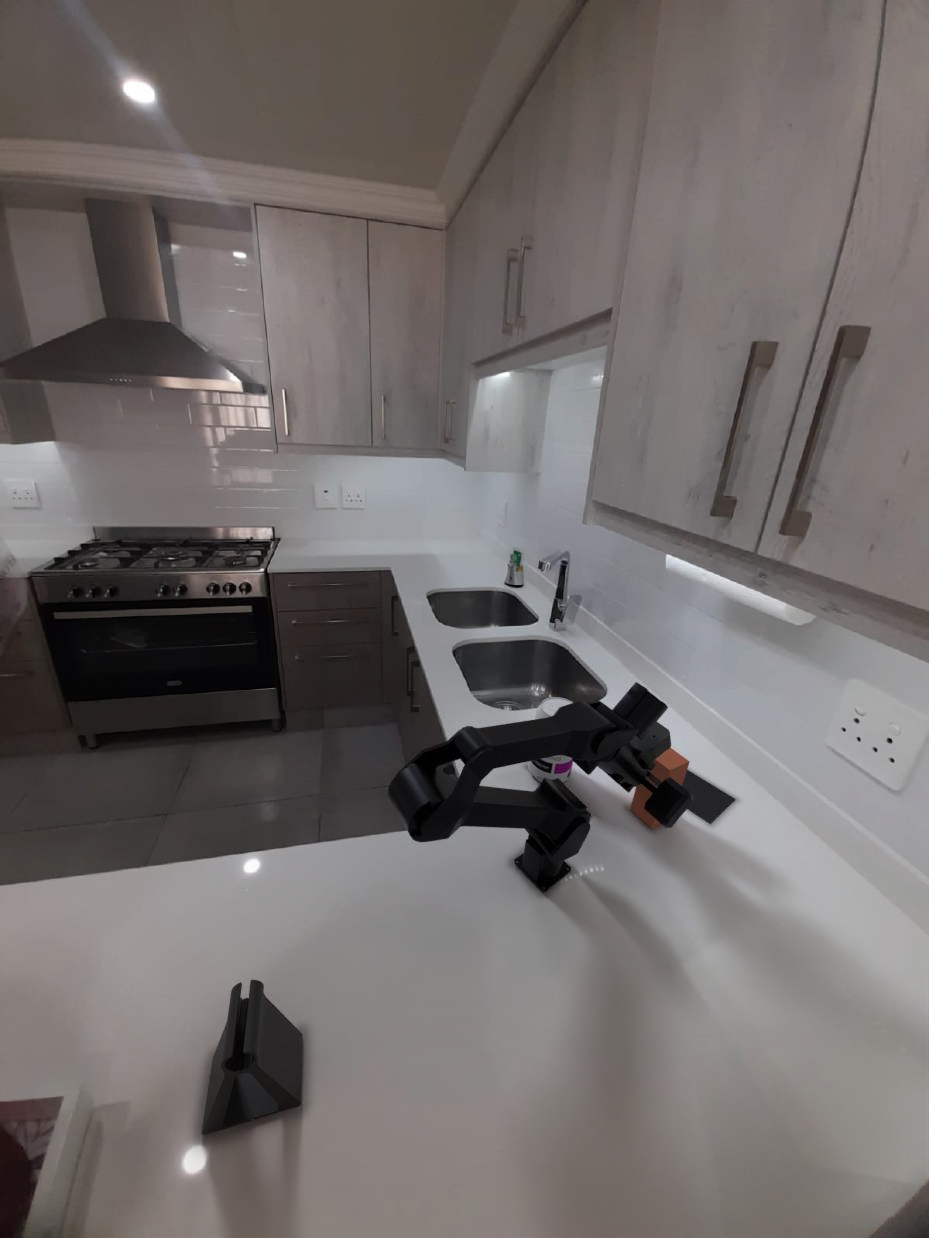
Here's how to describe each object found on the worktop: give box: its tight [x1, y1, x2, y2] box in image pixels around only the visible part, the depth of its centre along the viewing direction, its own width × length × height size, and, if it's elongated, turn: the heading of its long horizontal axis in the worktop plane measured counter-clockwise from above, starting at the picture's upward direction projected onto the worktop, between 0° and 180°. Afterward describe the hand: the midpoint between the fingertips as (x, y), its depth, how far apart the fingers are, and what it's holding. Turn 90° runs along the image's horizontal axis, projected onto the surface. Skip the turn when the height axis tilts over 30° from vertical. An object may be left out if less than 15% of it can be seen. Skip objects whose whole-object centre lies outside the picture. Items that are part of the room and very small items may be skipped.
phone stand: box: [200, 979, 303, 1136], centre depth 47 cm, size 9×6×12 cm, turn 105°
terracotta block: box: [629, 747, 690, 830], centre depth 84 cm, size 5×5×13 cm
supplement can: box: [527, 696, 574, 783], centre depth 92 cm, size 8×8×15 cm
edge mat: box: [682, 769, 736, 824], centre depth 93 cm, size 10×12×1 cm
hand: (649, 788), depth 83 cm, fingers open, 9 cm apart
